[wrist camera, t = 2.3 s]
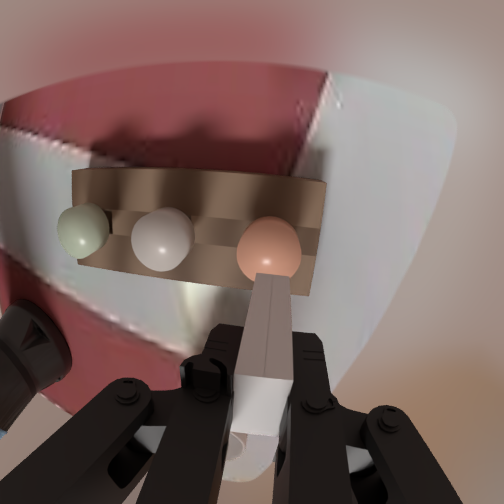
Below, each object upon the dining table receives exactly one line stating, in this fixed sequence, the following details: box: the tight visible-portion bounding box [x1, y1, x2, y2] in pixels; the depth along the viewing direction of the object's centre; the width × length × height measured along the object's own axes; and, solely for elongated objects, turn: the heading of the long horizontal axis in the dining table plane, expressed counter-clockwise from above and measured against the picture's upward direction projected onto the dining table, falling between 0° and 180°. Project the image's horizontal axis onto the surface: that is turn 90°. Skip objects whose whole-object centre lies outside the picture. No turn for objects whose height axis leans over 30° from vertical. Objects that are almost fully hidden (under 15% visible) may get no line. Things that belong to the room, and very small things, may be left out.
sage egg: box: [57, 203, 109, 259], centre depth 22 cm, size 4×4×4 cm
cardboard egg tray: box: [72, 167, 327, 296], centre depth 25 cm, size 24×10×3 cm, turn 85°
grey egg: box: [131, 207, 195, 272], centre depth 22 cm, size 4×4×4 cm
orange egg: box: [237, 216, 301, 281], centre depth 21 cm, size 4×4×4 cm
